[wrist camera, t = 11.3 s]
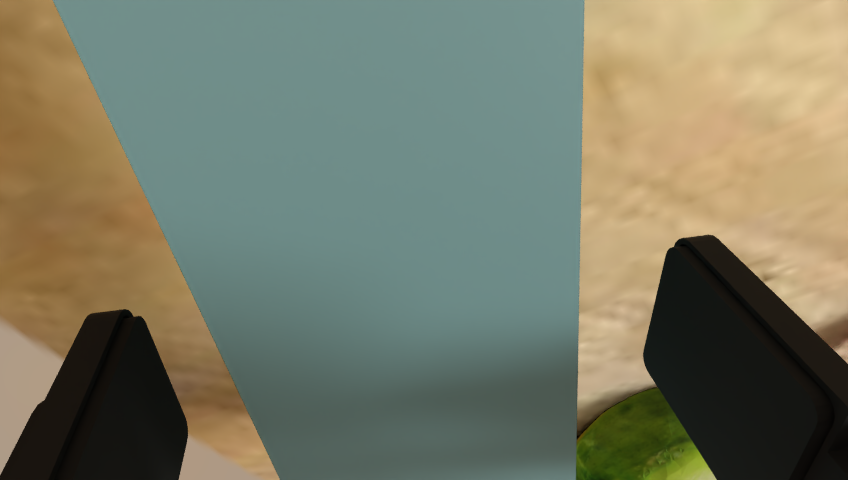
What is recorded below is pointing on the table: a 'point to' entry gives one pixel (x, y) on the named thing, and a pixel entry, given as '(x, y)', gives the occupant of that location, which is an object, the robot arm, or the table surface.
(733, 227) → the table surface
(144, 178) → the rail
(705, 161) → the table surface
